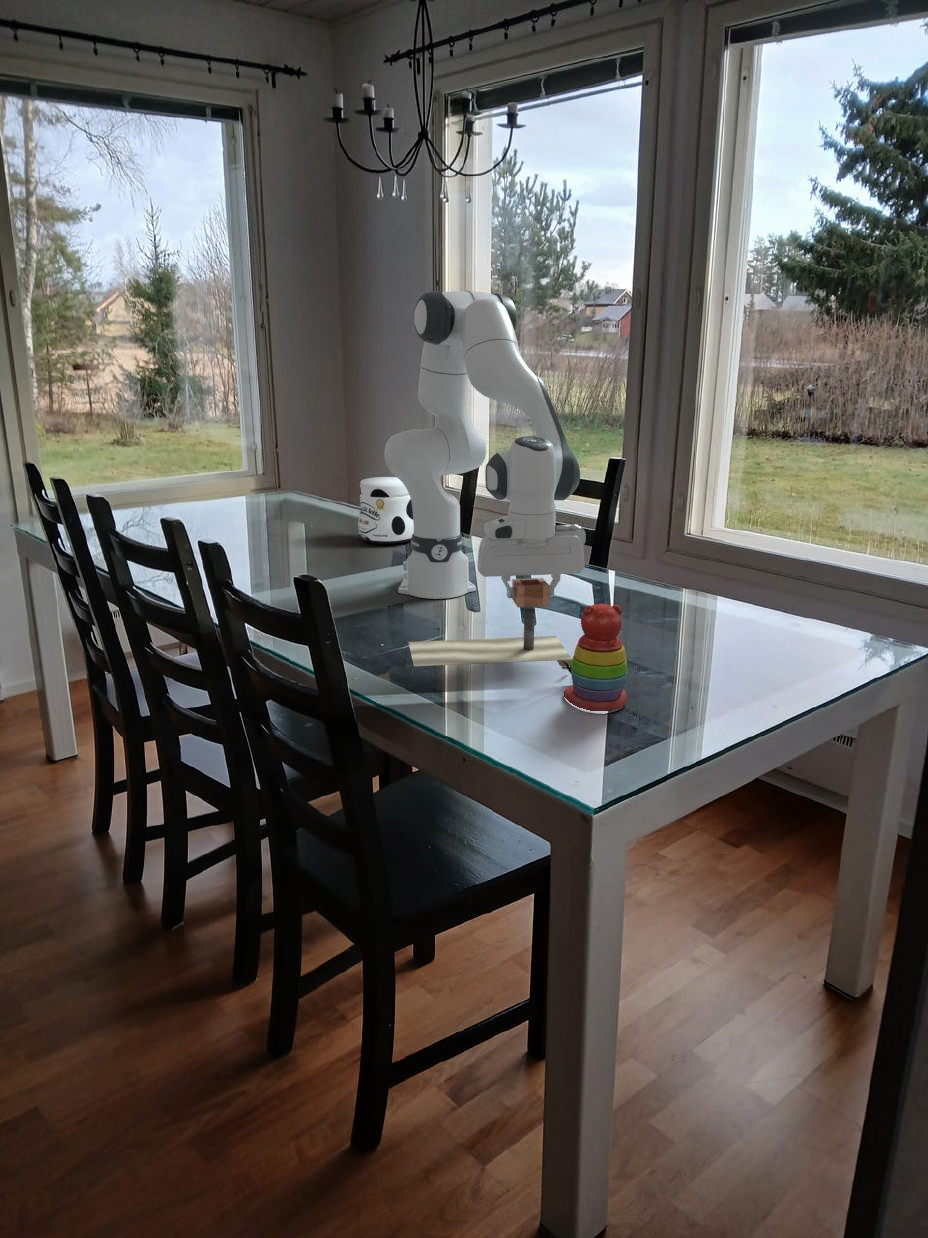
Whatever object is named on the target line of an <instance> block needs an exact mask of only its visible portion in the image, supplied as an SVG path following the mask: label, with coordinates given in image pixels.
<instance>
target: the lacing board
mask: <svg viewBox="0 0 928 1238" xmlns="http://www.w3.org/2000/svg"><path fill="white" fill-rule="evenodd" d="M523 611H524V613H523V619H524V620H523V637H522V636H521V637H520V636H519V637H499V638H498V637H495V638H494V637H493V638H492V637H491V638H473V639H472V638H471V639H470V638H469V639H451V640H450V639H446V640H426V641H425V640H424V641H420V640H419V641H408V642H407V643H408V647H409V650H410V651H409V653H410V654H411V655H410V656H411V661H412V664H413V667H429V666H431V667H434V666H456V665H476V664H478V665H479V664H482V665H483V664H497V663H499V664H500V663H501V664H502V663H520V662H521V663H525V662H526V663H527V662H543V661H544V662H548V661H556V662H557V663H558V664H559V667H561V666H566V664H565V663H564V662H566V663H567V664H568V665H569V666H571V664H572V659H573V657H572V656H570V654H569V652H568V651H567V650H566V649H565V647H564V645H563V644H562V643H561V641H560V639H559V638H558V637H557V636H556V635H548V636H547V635H546V636H541V635H540V636H535V618H536V617H535V616H536V615H535V614H536V612H535V611H536V609H535V608H534V607H524V609H523ZM562 661H564V662H562Z"/></svg>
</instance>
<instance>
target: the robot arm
mask: <svg viewBox="0 0 928 1238" xmlns="http://www.w3.org/2000/svg"><path fill="white" fill-rule="evenodd" d="M413 317H414V318H413V319H414V320H413V322H414V328H415V332H416V334H417V336H418V337H419V339H420V340H421V341H423V347H422V352H421V359H420V365H419V366H420V367H419V368H420V369H419V378H418V389H417V399H418V401H419V403H420V405H421V406H422V408H423V409H425V410H426V411H427V412H429V413H430V414H432V415H433V417H434V427H432V428H419V429H418V428H417V429H410V430H409V429H408V430H406V431H405V430H404V431H402V432H399V433H396V434H393V435H391V436H390V437H389V438H388V440H387V442H386V444H385V447H384V452H383V453H384V454H383V455H384V456H383V457H384V463H385V465H386V467H387V469H388V471H389V472H390V473H391V474H392V475H394V477H397V478H398V479H400V480H401V481H402V483H403V484H404V485H405V487H406V489H407V491H408V493H409V495H410V498H411V502H412V509H413V525H414V533H413V534H412V539H411V541H410V542H411V549H412V552H411V553H410V555H409V556H408V557H407V558H406V560H404V561H403V571H404V572H405V571H406V572H405V573H404V575H403V579H402V581H401V583H400V585H399V586H398V593H399V594H402V595H409V596H413V597H415V598H422V599H430V600H431V599H432V600H433V599H434V600H437V599H439V600H441V599H452V598H458V597H460V596H463V595H465V594H467V593H470V592H471V593H472V592H475V591H476V590H477V586H476V585H475V584H474V583H472V582H471V581H470V577H469V575H470V574H469V557H468V556H466V554H464V552H463V551H462V549H463V538H462V537H463V536H462V533H461V505H460V502H459V500H458V499H457V498H456V496H455V495H453V494H452V493H450V492H448V491H446V490H444V488H443V486H442V480H441V478H442V476H449V475H451V476H452V475H459V474H464V473H467V472H470V471H474V470H476V469H478V468H480V467H481V466H482V465H483V463H484V462H485V460H486V456H487V443H486V439H485V438H484V436H483V435H482V433H481V431H479V429H477V428H476V427H475V426H474V424H473V423H472V420H471V418H470V414H469V409H468V408H469V407H468V397H469V396H468V394H469V392H468V391H469V382H470V384H471V386H472V387H473V388H474V389H475V390H476V391H477V392H479V394H481V395H482V396H484V397H486V398H488V399H490V400H492V401H496V402H500V403H503V404H506V405H508V406H512V407H514V408H516V409H517V410H519V411H521V412H522V413H524V414H525V415H526V416H527V417H528V419H529V420H530V423H531V424H532V428H533V430H534V433H535V435H536V436H532V435H531V436H529V435H528V436H527V435H526V436H525V435H524V436H521V437H518V438H516V439H514V440H513V441H512V442H511V446H510V447H509V448H508V449H505V450H504V451H500V452H496V453H494V454H493V455H492V456H491V458H489V460H488V462H487V463H486V465H485V470H484V471H485V472H484V473H485V474H484V475H485V477H484V479H485V488H486V489H485V490H487V492H489V494H490V495H491V496H492V497H493V498H495V500H498V501H501V502H509V506H508V514H507V515H504V516H503V515H502V516H500V517H498V518H494V519H492V520H489V521H487V522H485V523H484V526H483V529H484V533H485V535H484V536H483V537H482V538H481V540H480V543H479V548H478V553H477V554H478V555H477V571H478V573H479V574H480V575H481V576H482V577H485V578H486V577H487V578H490V577H501V581H502V583H503V584H504V586H505V587H506V597H507V599H512V598H516V595H515V594H516V589H515V588H514V587H512V586H510V584H509V582H511V577H517V576H518V577H519V576H521V577H522V576H544V575H545V576H549V575H550V578H552V580H551V581H550V584H548V585H549V586H550V588H549V598H553V597H554V596H555V589H556V587H557V586H558V584H559V583H560V582H561V575H568V574H569V575H573V574H574V575H575V574H581V573H582V572H583V571H584V569H585V553H584V545H585V544H586V535H587V534H586V531H585V529H584V528H583V527H581V526H579V524H567V525H566V524H556V516H557V515H556V514H557V513H556V512H557V511H556V510H557V508H556V503H555V501H565V500H567V499H568V498H569V497H570V496H571V495H572V494H573V493H574V492H575V491H576V489H577V488H578V486H579V484H580V481H581V470H580V466H579V462H578V459H577V457H576V455H574V452H573V451H572V450H571V449H572V448H570V446H569V443H568V441H567V439H566V437H565V434H564V431H563V429H562V426H561V424H560V423H561V422H560V420H559V418H558V415H557V413H556V410H555V408H554V405H553V402H552V400H551V397H550V395H549V392H548V390H547V388H546V386H545V384H544V381H543V380H542V378H541V377H540V376H538V375H537V374H535V373H534V372H533V371H532V370H531V369H530V367H529V366H528V365H527V363H526V362H525V360H524V359H523V357H522V355H521V352H520V348H519V344H518V343H519V342H518V339H517V335H516V331H517V326H518V324H517V323H518V312H517V308H516V305H515V304H514V302H513V300H512V298H510V297H509V296H506V295H503V294H501V293H493V294H492V293H488V292H482V291H474V290H465V291H464V290H463V291H461V290H460V291H458V290H457V291H455V290H453V291H440V290H434V291H428V292H425V293H423V294H422V295H421V296H420V297H419V299H418V300H417V301H416V304H415V307H414V316H413Z"/></svg>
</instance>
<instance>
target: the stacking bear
mask: <svg viewBox="0 0 928 1238" xmlns="http://www.w3.org/2000/svg"><path fill="white" fill-rule="evenodd" d="M622 612H623V609H622V607H621V606H620V605H619V604H614V605H610V604H608V603H607V604H606V603H595V604H592V605H587V606H585V607H584V609H583V612H582V615H581V617H580V626H581V629H582V630H581V631H582V632H583V635H581V636H580V638H579V639H578V641H577V644H576V647H575V648H574V649H575V650H574V652H573V653H574V654H573V656H572V664H571V668H572V669H571V673H570V674H571V680H572V685H571V686H570V685H569V686H568V687H566V688H565V689H564V690H563V694H564V697H565V698H566V699H567V700H568V701H569V702H570V703H572V704H573V705H575V706H577V707H579V708H583V709H586V710H590V711H612V710H616V709H619V708H622V707H623V706H624V705H625V704H626V705H627V703H626V702H627V701H628V697H627V692H626V690H625V689H624V687H625V686H624V685H625V683H626V681H627V676H628V662H627V661H628V660H627V654H626V649H625V646H624V645H623V642H622V640H621V639H620V637H619V636H618V635H619V634H620V631H621V629H622V622H623V620H622V616H621V615H622ZM564 697H563V698H564ZM626 705H625V706H626ZM625 706H624V707H625ZM624 707H623V708H624ZM623 708H622V709H623Z"/></svg>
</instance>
